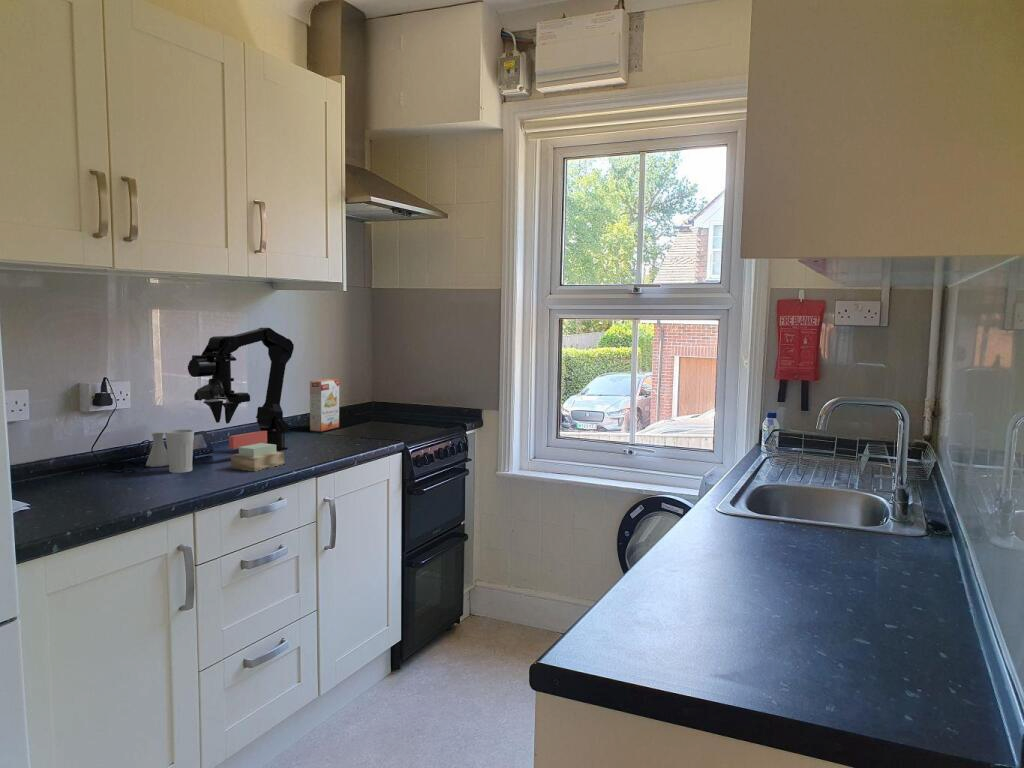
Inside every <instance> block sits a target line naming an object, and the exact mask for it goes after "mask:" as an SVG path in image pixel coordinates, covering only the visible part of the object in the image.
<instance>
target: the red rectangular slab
mask: <svg viewBox="0 0 1024 768" xmlns="http://www.w3.org/2000/svg"><path fill="white" fill-rule="evenodd" d="M258 443H267V431H261V430H259V431H252V432H246V433H242V434H241V433H240V434H234V435H230V436H229V435H228V449H230V450H236V449H239V447H242V446H247V445H253V444H258Z"/></svg>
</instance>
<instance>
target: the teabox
mask: <svg viewBox="0 0 1024 768" xmlns="http://www.w3.org/2000/svg"><path fill="white" fill-rule="evenodd" d="M283 464H285V452H284V451H279V450H278V451H276V453H272V454H267V455H262V456H257V457H249V456H241V455H239V453H236V454H232V455H230V469H234V470H239V469H241V471H246V470H247V472H253V471H255V472H259V471H258V470H260V471H263V470H262V469H264V470H267V469H266V468H269V467H273V468H275V467H274V466H277V467H279V466H278V465H282V466H284V465H283ZM269 469H270V468H269Z"/></svg>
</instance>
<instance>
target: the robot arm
mask: <svg viewBox="0 0 1024 768" xmlns="http://www.w3.org/2000/svg"><path fill="white" fill-rule="evenodd" d="M259 342H262V344H263V346H265V347H266V348H267V352H268V353H267V355H268V358H269V359H270V369H269V373H268V381H267V388H266V393H265V394H266V395H265V402H264V404H263V405H262V406H258V407H257V412H256V416H255V419H256V423H257V425H258V426H259V429H260V431H267V443H266V444H275V445H276V451H277V450H278V451H282V449H283V450H287V449H286V448H288V449H289V446H286V444H285V442H286V441H285V434H286V433H288V432H289V429H290V426H289V424H288V423H287V422H286V421H285V420H284V412H283V409H282V407H281V399H282V398H281V397H282V392H283V385H284V381H285V379H284V378H285V373H286V372H285V371H286V367H287V366H286V365H287V363H288V362H289V361H290V359H291V358H292V356H293V352H294V348H295V346H294V345H295V344H294V343H293V341H292V340H291V339H289V338H287V337H285V336H284V335H282V334H280V333H279V332H276V331H275V330H274V329H272V328H270V327H259V328H257V329H256V328H255V329H253V330H249V331H246V332H242V333H238V334H235V335H234V334H233V335H217V336H216V335H214V336H211V337H209V340H208V342H207V344H206V346H205V348H204V350H203V351H202V353H201V355H200V354H199V355H198V354H196V355H195V354H193V355H191V359H190V361H189V363H188V364H187V371H188V374H189V375H190V376H191V377H192V378H202V377H211V378H209V379H208V382H207V384H205V385H203V386H201V387H200V388H198V389H196V392H195V393H194V394H193V395H194V396H193V397H194V399H193V400H194V401H199V402H200V401H203V400H204V401H203V404H204V405H205V404H206V405H207V406H208V407H209V408H210V411H211V413H212V416H213V418H214V420H215V423H217V424H218V423H220V422H221V417H222V410H223V408H224V419H225V424H227V425H229V424H230V423H231V420H232V418H233V416H234V414H235V413H236V410H237V408H238V407H239V405H240V404H242V403H248V402H251V394H250V393H248V392H235V390H232V382H235V378H234V377H232V365H231V362H234V361H237V358H236V357H234V355H233V354H232V353H233V352H236V351H237V350H239V348H242V347H244V346H247V345H251V344H255V343H259ZM224 400H225V402H224Z"/></svg>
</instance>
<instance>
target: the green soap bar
mask: <svg viewBox="0 0 1024 768" xmlns="http://www.w3.org/2000/svg"><path fill="white" fill-rule="evenodd" d="M272 453H276V445H275V444H266V443H258V444H253V445H247V446H242V447H239V448H238V454H239V455H241V456H249V457H257V456H262V455H267V454H272Z"/></svg>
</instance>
